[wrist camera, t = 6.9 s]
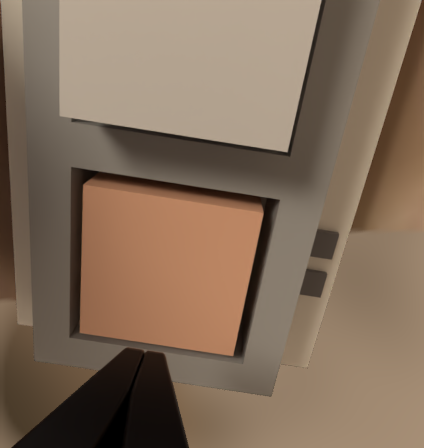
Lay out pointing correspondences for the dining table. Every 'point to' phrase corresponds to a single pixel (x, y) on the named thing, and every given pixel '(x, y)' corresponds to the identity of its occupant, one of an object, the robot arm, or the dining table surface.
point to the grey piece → (206, 178)
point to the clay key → (166, 262)
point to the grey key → (187, 66)
